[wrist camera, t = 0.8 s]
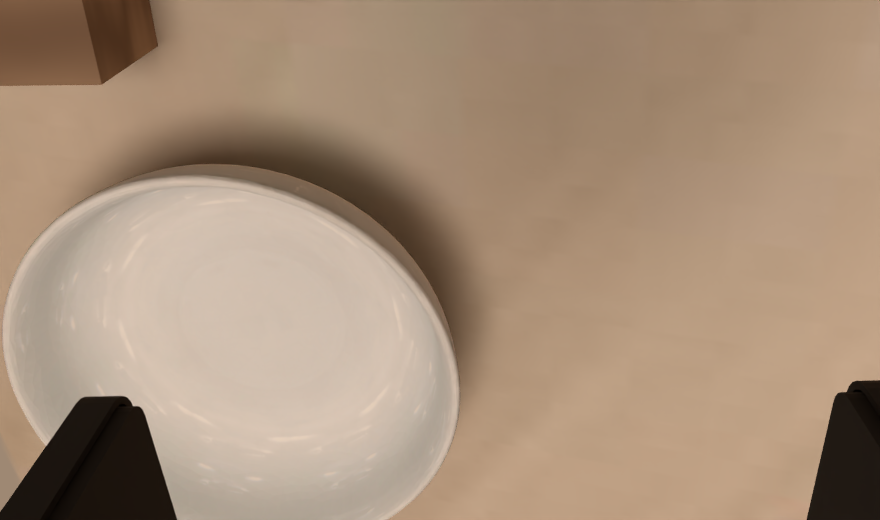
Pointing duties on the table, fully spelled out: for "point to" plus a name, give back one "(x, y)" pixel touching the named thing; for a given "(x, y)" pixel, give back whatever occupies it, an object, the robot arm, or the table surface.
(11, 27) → the walnut block
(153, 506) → the robot arm
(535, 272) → the table surface
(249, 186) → the serving bowl
